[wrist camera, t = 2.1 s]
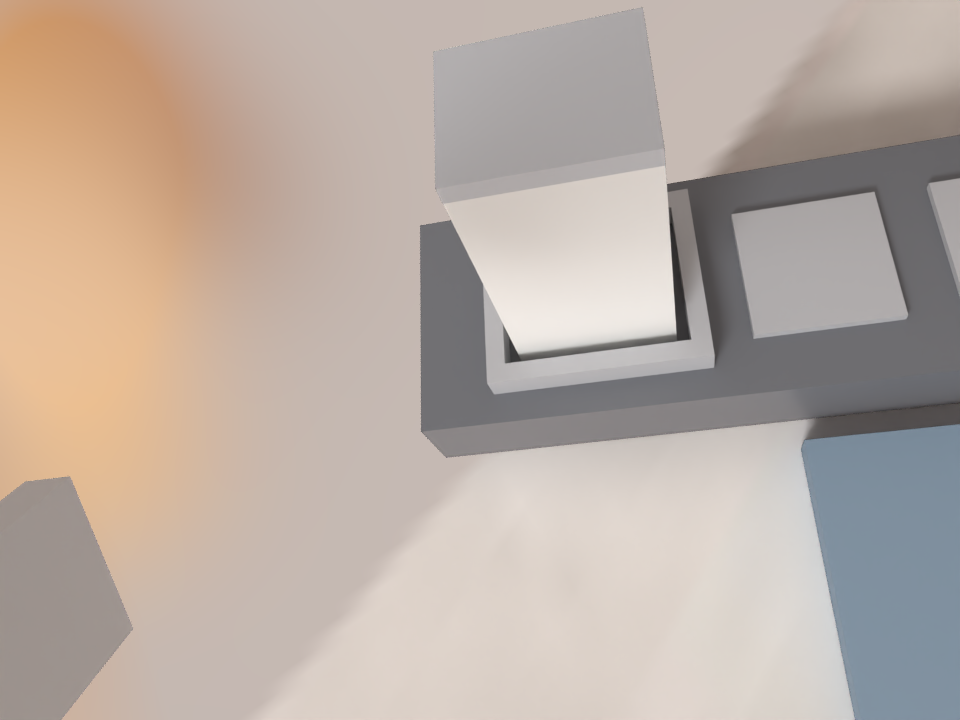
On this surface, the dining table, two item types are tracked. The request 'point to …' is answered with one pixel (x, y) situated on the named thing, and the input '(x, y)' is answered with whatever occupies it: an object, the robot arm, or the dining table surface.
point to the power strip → (729, 313)
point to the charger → (560, 183)
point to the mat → (893, 565)
